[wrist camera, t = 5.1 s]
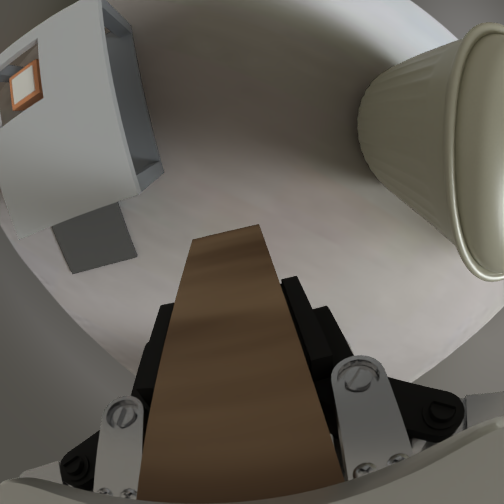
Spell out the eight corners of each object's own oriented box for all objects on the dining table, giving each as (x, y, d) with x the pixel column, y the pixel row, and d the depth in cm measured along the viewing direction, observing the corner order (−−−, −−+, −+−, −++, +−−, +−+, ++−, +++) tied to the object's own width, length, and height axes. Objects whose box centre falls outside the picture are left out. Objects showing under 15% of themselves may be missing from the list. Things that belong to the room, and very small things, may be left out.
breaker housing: (164, 172, 25) (138, 195, 17) (64, 207, 25) (18, 240, 17) (130, 25, 18) (96, -9, 10) (34, 75, 18) (-18, 70, 10)
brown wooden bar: (270, 282, 15) (350, 567, 3) (210, 295, 15) (206, 583, 3) (258, 224, 14) (371, 576, 1) (192, 239, 14) (131, 585, 1)
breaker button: (64, 94, 17) (38, 92, 13) (38, 109, 17) (11, 111, 13) (59, 64, 16) (35, 58, 12) (34, 81, 16) (8, 78, 12)
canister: (292, 90, 23) (471, 31, 4) (417, 35, 20) (569, 17, 1) (371, 237, 30) (498, 367, 11) (468, 166, 27) (596, 227, 8)
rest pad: (137, 255, 28) (136, 257, 28) (74, 272, 28) (72, 274, 28) (109, 174, 24) (107, 175, 24) (45, 202, 24) (43, 203, 24)
